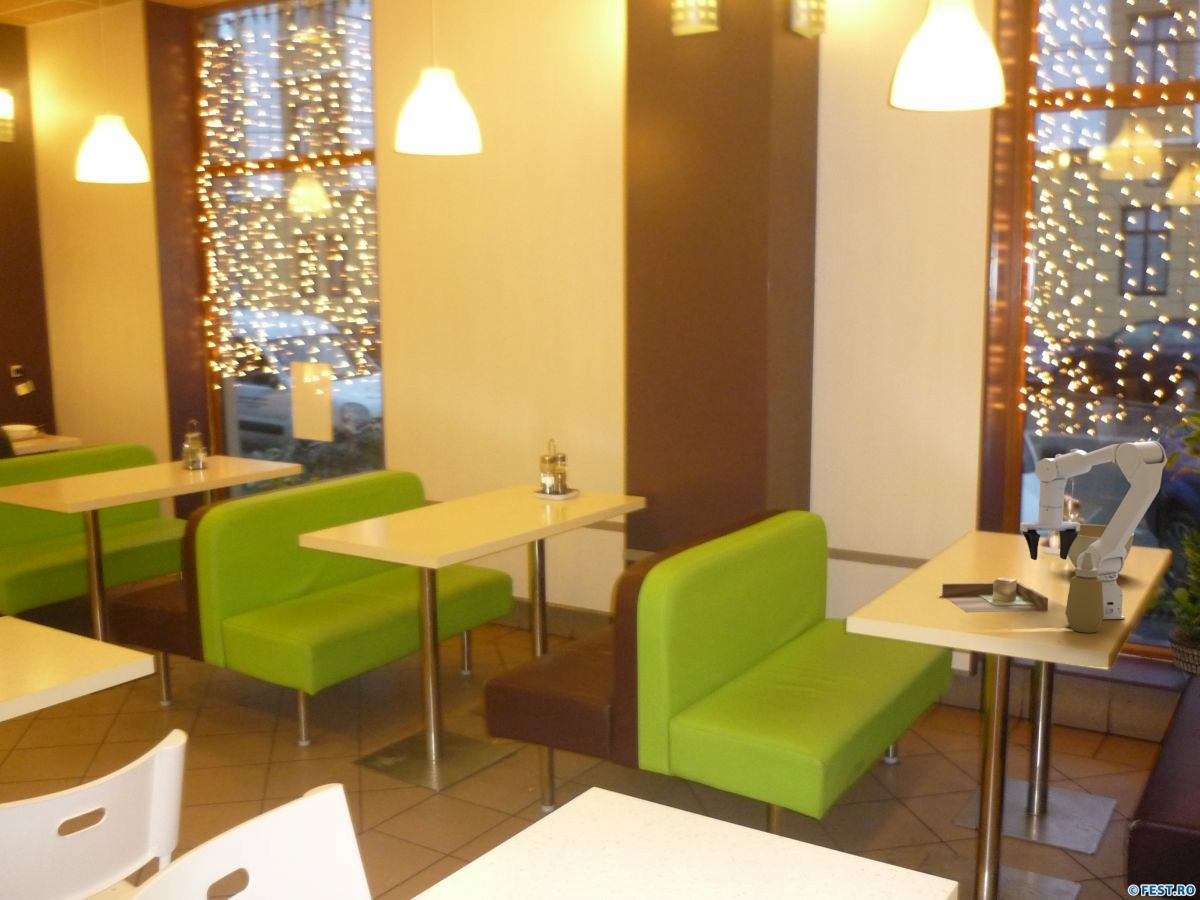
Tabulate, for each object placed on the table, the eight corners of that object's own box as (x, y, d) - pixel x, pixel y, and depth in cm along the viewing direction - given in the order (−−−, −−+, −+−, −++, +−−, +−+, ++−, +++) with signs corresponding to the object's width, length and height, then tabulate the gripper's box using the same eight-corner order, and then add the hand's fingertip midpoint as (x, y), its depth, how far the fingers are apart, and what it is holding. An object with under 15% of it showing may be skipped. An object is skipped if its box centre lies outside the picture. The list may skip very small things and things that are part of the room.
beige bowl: (1046, 569, 318) (1048, 527, 317) (1096, 564, 324) (1099, 522, 323) (1094, 583, 301) (1096, 539, 300) (1146, 578, 307) (1149, 534, 306)
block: (1015, 599, 282) (1016, 579, 281) (1008, 602, 278) (1009, 582, 278) (1000, 596, 284) (1001, 576, 284) (992, 599, 281) (993, 579, 280)
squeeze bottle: (1064, 623, 264) (1068, 547, 261) (1102, 627, 261) (1106, 550, 258) (1064, 632, 256) (1068, 554, 254) (1103, 636, 253) (1107, 557, 251)
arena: (1047, 613, 272) (1048, 598, 272) (966, 615, 271) (966, 599, 270) (1018, 596, 288) (1019, 582, 288) (942, 598, 287) (942, 583, 286)
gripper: (1071, 502, 287) (1068, 554, 289) (1016, 503, 286) (1013, 555, 288) (1085, 507, 280) (1082, 561, 282) (1028, 508, 279) (1025, 562, 281)
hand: (1048, 558), depth 284 cm, fingers open, 7 cm apart
